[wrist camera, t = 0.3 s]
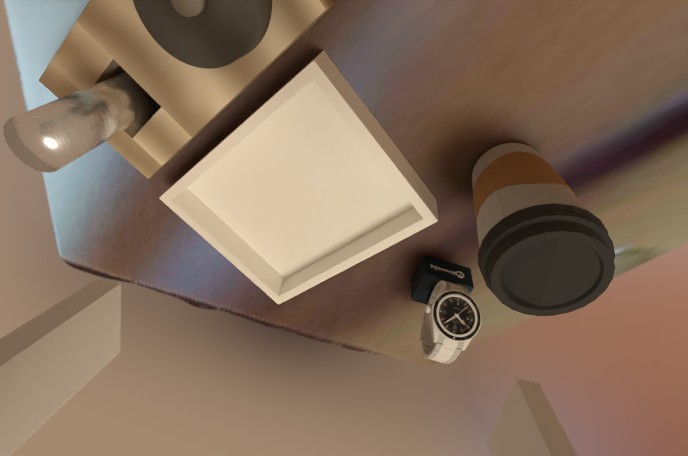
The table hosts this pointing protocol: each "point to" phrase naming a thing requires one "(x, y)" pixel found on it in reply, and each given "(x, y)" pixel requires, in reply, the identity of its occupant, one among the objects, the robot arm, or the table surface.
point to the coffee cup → (536, 235)
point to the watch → (445, 308)
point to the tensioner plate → (177, 60)
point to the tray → (303, 187)
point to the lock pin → (77, 122)
